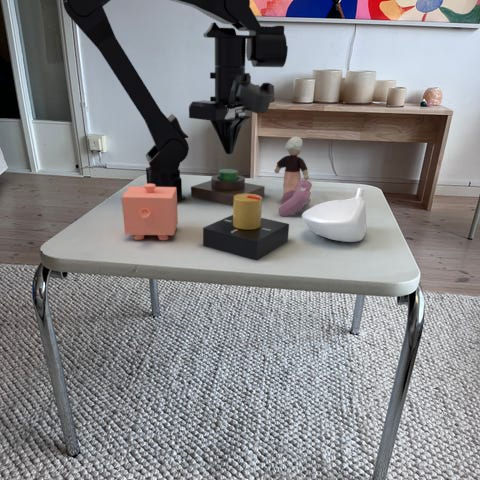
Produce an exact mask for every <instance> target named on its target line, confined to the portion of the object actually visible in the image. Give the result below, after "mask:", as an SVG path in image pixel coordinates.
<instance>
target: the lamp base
mask: <svg viewBox="0 0 480 480" xmlns="http://www.w3.org/2000/svg"><path fill="white" fill-rule="evenodd" d="M265 188H266V187H265V185H259V184H255V183H249V182H246V177H245V176H243V175H241V174H238V179H237V180H232V181H228V180H220V179H219V174H214V175H212V176H211V178H210V180H208V181H205V182H201V183H198V184H195V185H192V186H190V197H191V198H195V199H199V200H204V201H209V202H214V203H219V204H223V205H227V206H232V207H233V203H234V196H235V195H238V194H256V195H259V196H261V197H262V198H264V197H265V190H266V189H265Z"/></svg>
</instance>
